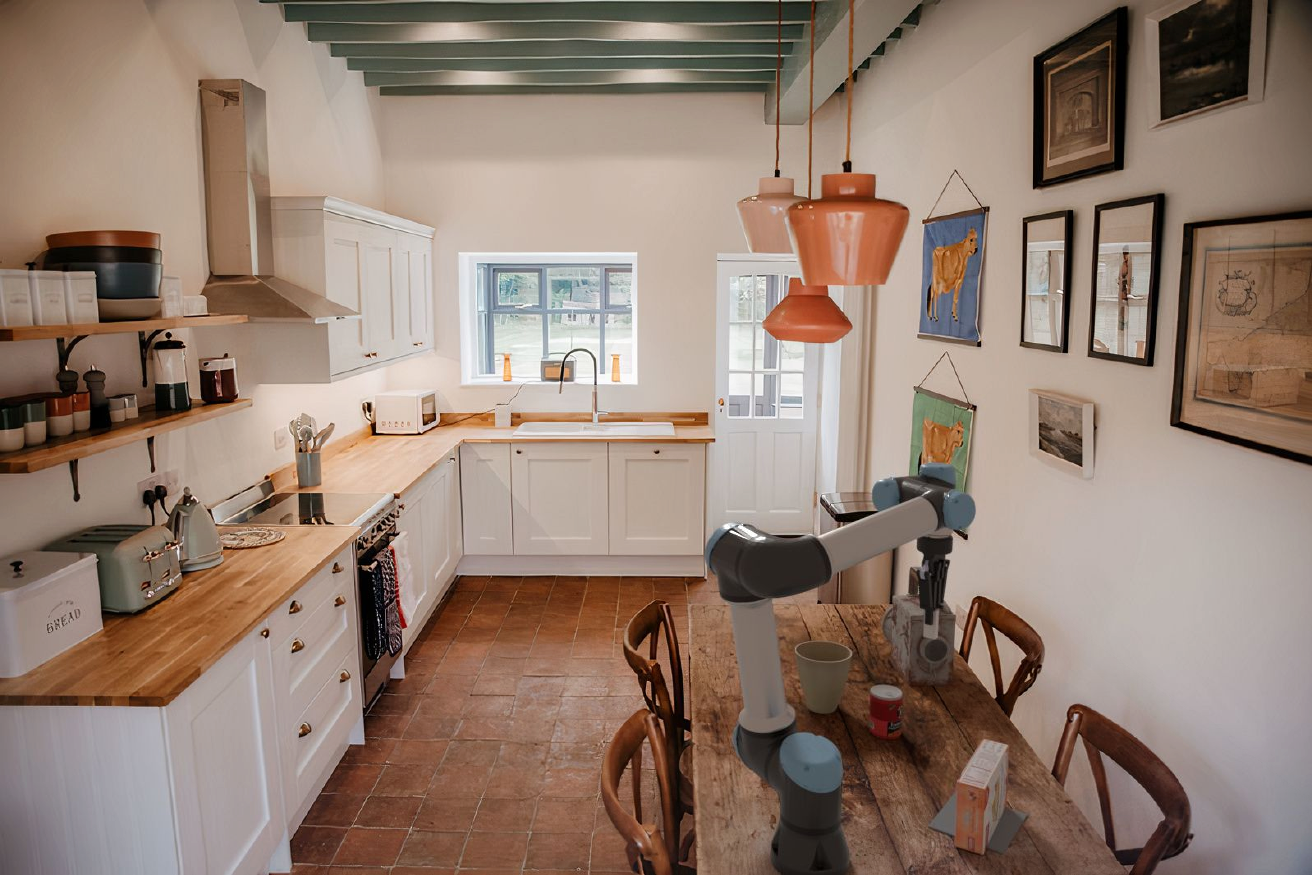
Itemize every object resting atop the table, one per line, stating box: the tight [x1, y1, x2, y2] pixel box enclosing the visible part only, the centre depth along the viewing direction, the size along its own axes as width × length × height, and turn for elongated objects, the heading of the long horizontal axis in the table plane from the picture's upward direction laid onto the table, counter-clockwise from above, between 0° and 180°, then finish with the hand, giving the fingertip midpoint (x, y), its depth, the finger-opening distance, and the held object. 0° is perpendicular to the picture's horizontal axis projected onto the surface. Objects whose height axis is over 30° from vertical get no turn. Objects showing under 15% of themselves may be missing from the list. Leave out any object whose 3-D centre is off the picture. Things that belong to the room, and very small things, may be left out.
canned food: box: [869, 684, 904, 740], centre depth 219 cm, size 8×8×11 cm
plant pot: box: [794, 640, 853, 715], centre depth 233 cm, size 15×15×16 cm
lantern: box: [880, 566, 957, 687], centre depth 255 cm, size 16×27×30 cm, turn 2°
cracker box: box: [953, 738, 1011, 855], centre depth 179 cm, size 14×6×21 cm
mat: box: [928, 791, 1028, 855], centre depth 182 cm, size 16×15×1 cm
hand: (930, 637), depth 195 cm, fingers closed
